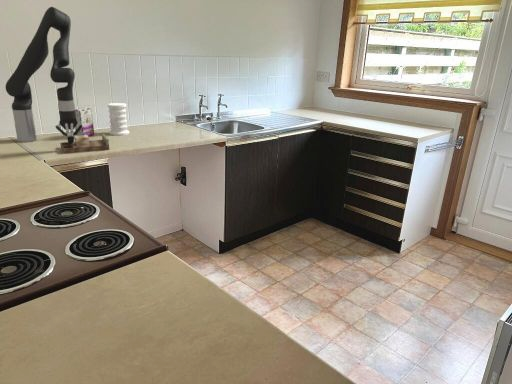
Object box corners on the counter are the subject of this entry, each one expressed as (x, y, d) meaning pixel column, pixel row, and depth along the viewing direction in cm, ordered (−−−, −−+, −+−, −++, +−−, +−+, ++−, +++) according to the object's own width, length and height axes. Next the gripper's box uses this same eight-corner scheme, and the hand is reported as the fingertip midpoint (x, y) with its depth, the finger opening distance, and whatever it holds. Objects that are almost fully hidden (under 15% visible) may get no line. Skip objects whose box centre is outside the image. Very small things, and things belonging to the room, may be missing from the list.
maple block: (76, 145, 200) (75, 138, 198) (75, 143, 205) (74, 135, 203) (89, 144, 203) (88, 137, 201) (87, 142, 207) (87, 135, 206)
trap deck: (63, 153, 194) (61, 142, 192) (60, 147, 205) (59, 137, 203) (109, 149, 205) (108, 139, 203) (104, 143, 216) (103, 134, 214)
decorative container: (121, 130, 249) (119, 102, 243) (133, 133, 243) (131, 104, 237) (105, 133, 240) (102, 103, 234) (117, 136, 234) (114, 106, 228)
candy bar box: (87, 134, 236) (84, 107, 231) (94, 135, 235) (91, 107, 230) (75, 138, 226) (72, 109, 220) (83, 138, 225) (80, 110, 219)
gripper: (52, 111, 188) (57, 145, 194) (82, 110, 195) (85, 143, 201) (51, 108, 195) (56, 142, 201) (80, 107, 201) (84, 140, 207)
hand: (71, 143), depth 201 cm, fingers closed
